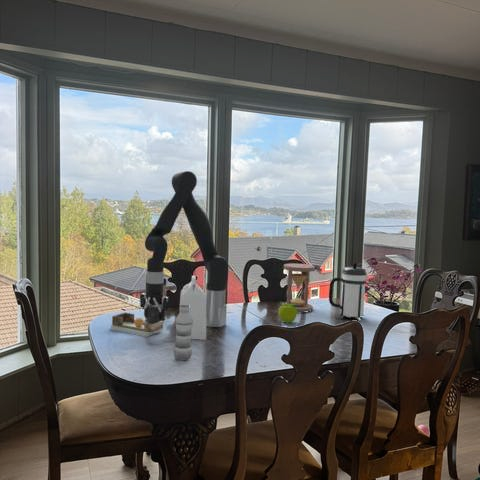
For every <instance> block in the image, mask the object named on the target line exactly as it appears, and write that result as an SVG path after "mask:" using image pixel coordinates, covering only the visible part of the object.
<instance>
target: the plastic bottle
mask: <svg viewBox="0 0 480 480" xmlns="http://www.w3.org/2000/svg"><path fill="white" fill-rule="evenodd" d="M178 311H180V313H178V314H177V315H176V318H175V319H174V320H175V321H174V323H175V335H176V336H175V344H174V349H173V356H174V358H175V359H176V360H178V361H186V360H190V359H191V357H192V353H193V349H192V340H191V331H192V325H193V318H192V316H191V315H190V313H189V311H190V306H188V305H181V306H180V305H179V309H178Z"/></svg>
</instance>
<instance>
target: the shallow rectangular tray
mask: <svg viewBox="0 0 480 480" xmlns="http://www.w3.org/2000/svg"><path fill="white" fill-rule="evenodd" d="M135 320H136V319H134V322H135ZM143 322H144V323H146V322H147V321H143ZM144 323H143V325H142V326H141V327H137V326H136V325H135V323H131V322H126V321H125V322H123V325H121V327H120V326H115V325H112V324H111V325H110V328H109V329H110V330H111V331H112V330H113V331H117V332H121V333H122V332H123V333H127V334H128V333H129V334H133V335H138V336H143V337H149V336H151V335H154V334H157V333H159V332H162V331H164V327H163V328H161V329H159V330H156V331H154V332H153V331H150V330H148V329H144Z"/></svg>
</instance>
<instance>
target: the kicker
mask: <svg viewBox="0 0 480 480" xmlns="http://www.w3.org/2000/svg"><path fill="white" fill-rule="evenodd" d="M145 322H146V323H144V329H148V330H150V331H153V332H154V331H156V330H159V329H161V328H163V329H164V320H163V321H160V320H159V309H158V308H157V306H156V305H153V306H150V307H148V318H147V321H145Z"/></svg>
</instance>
